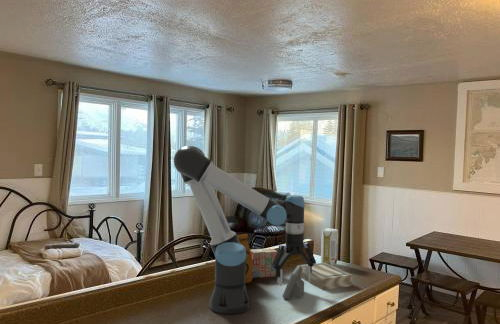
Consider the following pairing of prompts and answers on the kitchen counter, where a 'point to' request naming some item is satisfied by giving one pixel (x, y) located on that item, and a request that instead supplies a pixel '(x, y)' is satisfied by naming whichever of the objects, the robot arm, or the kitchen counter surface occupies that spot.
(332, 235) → the juice carton
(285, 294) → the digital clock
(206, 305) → the kitchen counter surface
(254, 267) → the stack of blocks
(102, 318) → the kitchen counter surface
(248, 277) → the coffee package
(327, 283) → the birch plinth
